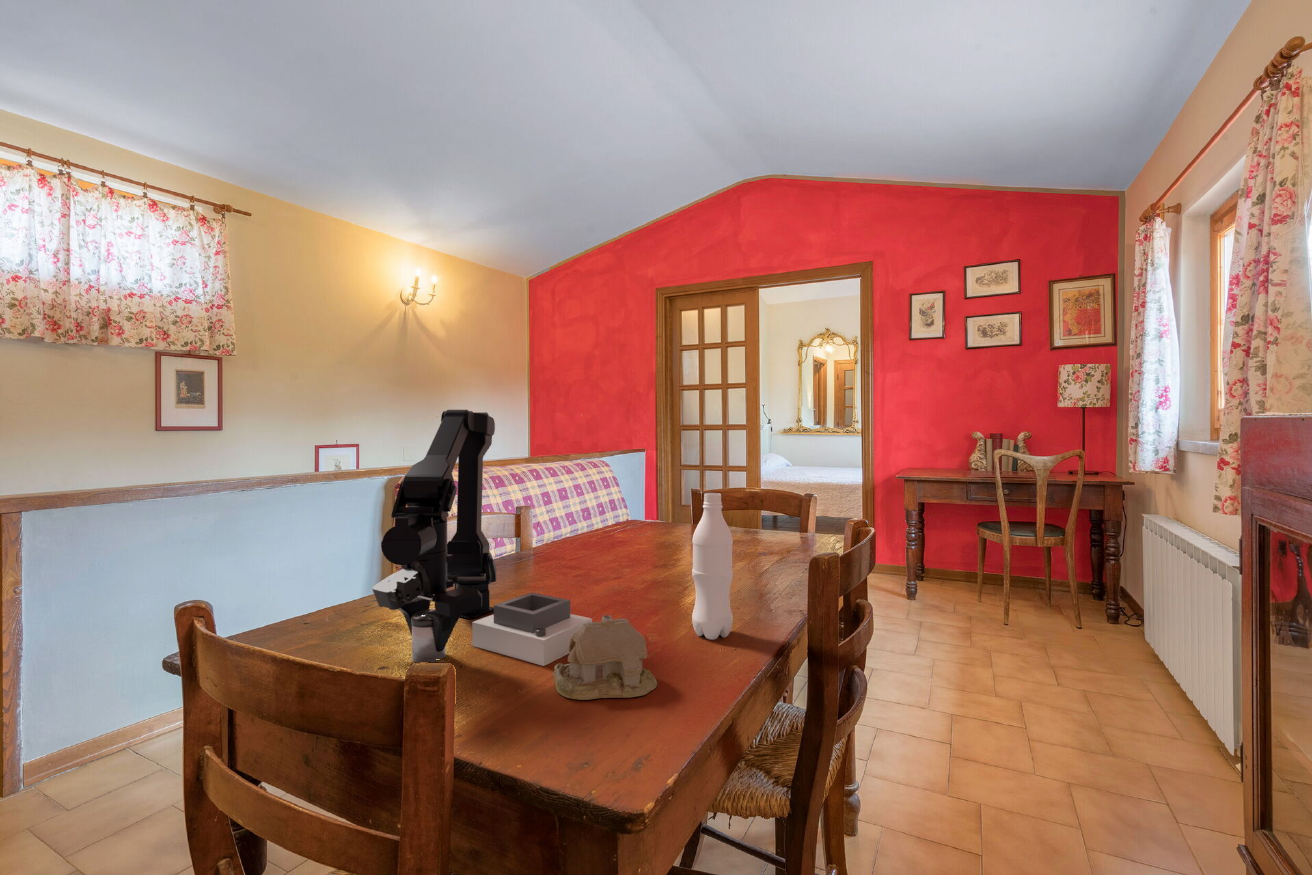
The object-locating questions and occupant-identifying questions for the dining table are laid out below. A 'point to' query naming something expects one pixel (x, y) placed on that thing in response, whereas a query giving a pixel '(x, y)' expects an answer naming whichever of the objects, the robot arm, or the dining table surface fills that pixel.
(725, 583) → the water bottle
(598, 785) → the dining table surface
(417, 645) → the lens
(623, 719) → the dining table surface
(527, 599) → the tray on white base
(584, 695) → the ceramic model
